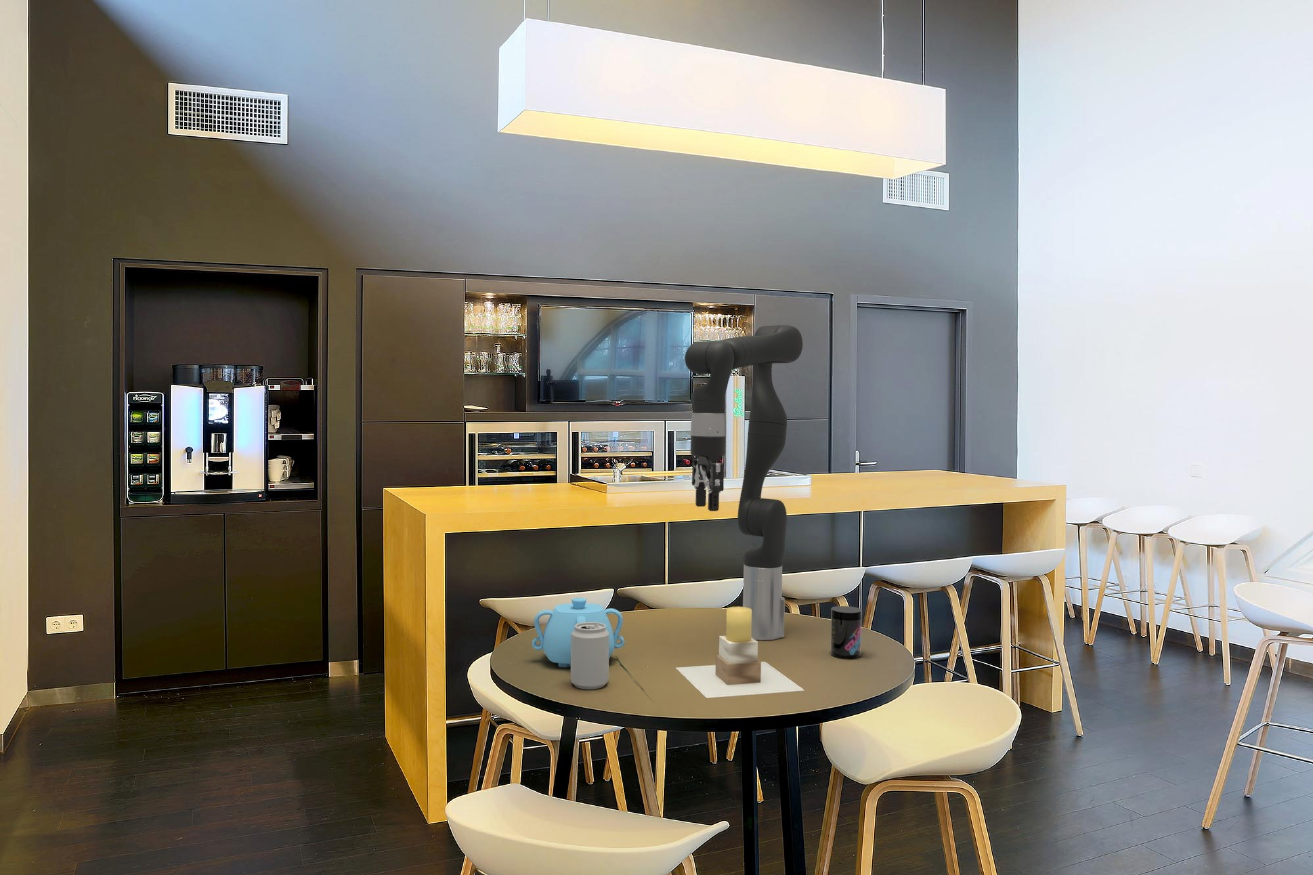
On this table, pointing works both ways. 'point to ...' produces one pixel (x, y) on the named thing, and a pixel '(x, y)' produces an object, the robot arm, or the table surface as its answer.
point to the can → (589, 655)
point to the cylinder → (738, 624)
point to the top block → (738, 651)
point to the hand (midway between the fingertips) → (706, 508)
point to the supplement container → (846, 632)
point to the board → (716, 687)
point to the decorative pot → (572, 628)
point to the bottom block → (738, 672)
